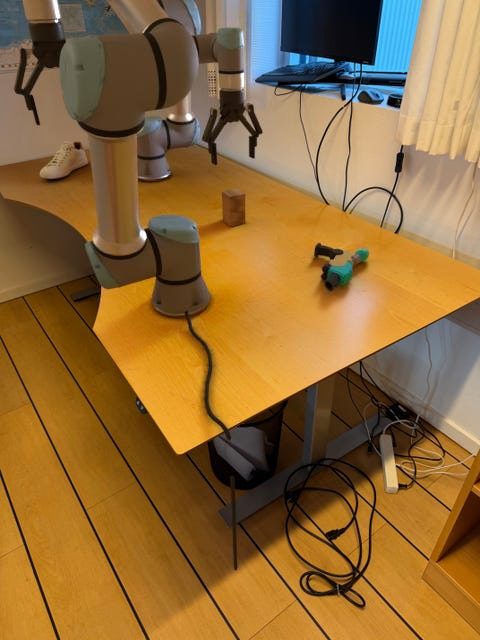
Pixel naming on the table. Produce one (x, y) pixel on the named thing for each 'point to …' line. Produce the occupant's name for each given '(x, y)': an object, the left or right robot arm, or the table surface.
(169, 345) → the table surface
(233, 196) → the brick
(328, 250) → the toy gun
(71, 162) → the sneaker
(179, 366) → the table surface
